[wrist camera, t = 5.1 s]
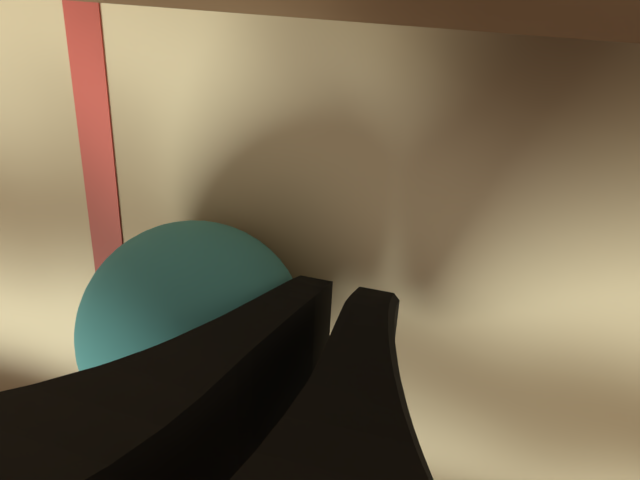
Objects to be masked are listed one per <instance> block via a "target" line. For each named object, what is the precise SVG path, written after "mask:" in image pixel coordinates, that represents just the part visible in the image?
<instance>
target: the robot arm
mask: <svg viewBox="0 0 640 480" xmlns="http://www.w3.org/2000/svg"><path fill="white" fill-rule="evenodd" d="M332 287H333V281H328V280H323V279H317V278H312V277H307V276H302V275H300V276H298V277H295V278H293V279H291V280H289V281H287V282H285V283H283V284H281V285H279V286H277V287H275V288H274V289H272V290H270V291H268V292H266V293H264V294H262V295H261V296H259V297H257V298H255V299H253V300H251V301H249V302H247V303H245V304H243V305H242V306H240V307H238V308H236V309H234V310H232V311H230V312H228V313H226V314H224V315H222V316H220V317H218V318H216V319H214V320H212V321H209V322H207V323H205V324H203V325H201V326H199V327H196V328H194V329H192V330H190V331H188V332H186V333H183V334H181V335H179V336H177V337H175V338H173V339H170V340H168V341H165V342H163V343H161V344H158V345H155V346H153V347H150V348H148V349H145V350H143V351H140V352H137V353H134V354H131V355H129V356H126V357H123V358H120V359H117V360H114V361H112V362H109V363H105V364H102V365H99V366H96V367H92V368H89V369H85V370H82V371H78V372H74V373H71V374H67V375H64V376H60V377H57V378H53V379H50V380H46V381H42V382H39V383H35V384H31V385H27V386H23V387H18V388H14V389H9V390H5V391H0V480H434V479H433V477H432V475H431V472H430V470H429V467H428V464H427V462H426V459H425V457H424V454H423V452H422V449H421V447H420V444H419V441H418V438H417V435H416V432H415V429H414V426H413V423H412V420H411V417H410V413H409V410H408V406H407V402H406V398H405V394H404V390H403V386H402V382H401V377H400V372H399V366H398V359H397V352H396V345H395V335H396V327H397V319H398V310H399V302H400V300H399V299H398V297H397V296H396V295H395V293H391V292H386V291H381V290H376V289H370V288H365V287H358V288H357V289H356V290H355V291H354V292H353V293H352V294H351V295H350V296H349V297H348V299H347V300H346V301H345V303H344V305H343V307H342V309H341V311H340V314H339V316H338V318H337V320H336V322H335V325H334V327H333V329H332V332H331V334H330V320H331V304H332Z"/></svg>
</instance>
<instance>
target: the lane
mask: <svg viewBox="0 0 640 480" xmlns="http://www.w3.org/2000/svg"><path fill="white" fill-rule="evenodd" d="M188 220H197V221H210V222H216V223H221V224H224V225H228V226H231V227H234V228H237V229H239V230H241V231H244V232H246V233H248V234H249V235H251V236H253V237H254V238H256V239H258V240H259V241H261V242H262V243H263V244H264V245H266V246H267V247H268V248H269V249H271V251H272V252H273V253H274V254H275V255H276V256H277V257H278V258H279V259H280V260H281V261H282V263H283V264H284V265H285V267H286V268H287V269H288V271H289V273H290V274H291V276H292V278H295V277H298V276H300V275H302V276H307V277H312V278H317V279H323V280H328V281H333V287H332V304H331V320H330V334H331V332H332V329H333V327H334V325H335V322H336V320H337V318H338V316H339V314H340V311H341V309H342V307H343V305H344V303H345V301H346V300H347V299H348V297H349V296H350V295H351V294H352V293H353V292H354V291H355V290H356V289H357V288H358V287H365V288H370V289H376V290H381V291H386V292H391V293H395V295H396V296H397V297H398V299H399V300H400V302H399V310H398V319H397V327H396V335H395V345H396V352H397V359H398V366H399V372H400V377H401V382H402V386H403V390H404V394H405V398H406V402H407V406H408V410H409V413H410V417H411V420H412V423H413V426H414V429H415V432H416V435H417V438H418V441H419V444H420V447H421V449H422V452H423V454H424V457H425V459H426V462H427V464H428V467H429V470H430V472H431V475H432V477H433V479H434V480H640V0H0V391H5V390H9V389H14V388H18V387H23V386H27V385H31V384H35V383H39V382H42V381H46V380H50V379H53V378H57V377H60V376H64V375H67V374H71V373H74V372H78V371H79V370H78V366H77V363H76V357H75V348H74V329H75V321H76V315H77V311H78V307H79V304H80V302H81V299H82V296H83V294H84V291H85V289H86V287H87V285H88V284H89V282H90V280H91V278H92V277H93V275H94V273H95V272H96V271H97V269H98V268H99V267H100V266H101V264H102V263H103V262H104V261H105V260H106V258H107V257H109V256H110V255H111V254H112V253H113V252H114V251H115V250H116V249H117V248H118V247H120V246H121V245H122V244H124V243H125V242H127V241H128V240H129V239H131V238H133V237H135V236H137V235H138V234H140V233H142V232H144V231H146V230H149V229H151V228H154V227H157V226H159V225H163V224H168V223H172V222H178V221H188Z"/></svg>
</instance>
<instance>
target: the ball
mask: <svg viewBox="0 0 640 480" xmlns="http://www.w3.org/2000/svg"><path fill="white" fill-rule="evenodd" d="M291 279H293V278H292V276H291V274H290V273H289V271H288V269H287V268H286V267H285V265H284V264H283V263H282V261H281V260H280V259H279V258H278V257H277V256H276V255H275V254H274V253H273V252H272V251H271V249H269V248H268V247H267V246H266V245H264V244H263V243H262V242H261V241H259V240H258V239H256V238H254V237H253V236H251V235H249V234H248V233H246V232H244V231H241V230H239V229H237V228H234V227H231V226H228V225H224V224H221V223H216V222H210V221H197V220H188V221H178V222H172V223H168V224H163V225H159V226H157V227H154V228H151V229H149V230H146V231H144V232H142V233H140V234H138V235H137V236H135V237H133V238H131V239H129V240H128V241H127V242H125V243H124V244H122V245H121V246H120V247H118V248H117V249H116V250H115V251H114V252H113V253H112V254H111V255H110V256H109V257H107V258H106V260H105V261H104V262H103V263H102V264H101V266H100V267H99V268H98V269H97V271H96V272H95V273H94V275H93V277H92V278H91V280H90V282H89V284H88V285H87V287H86V289H85V291H84V294H83V296H82V299H81V302H80V304H79V307H78V311H77V315H76V321H75V329H74V348H75V357H76V363H77V366H78V370H79V371H82V370H85V369H89V368H92V367H96V366H99V365H102V364H105V363H109V362H112V361H114V360H117V359H120V358H123V357H126V356H129V355H131V354H134V353H137V352H140V351H143V350H145V349H148V348H150V347H153V346H155V345H158V344H161V343H163V342H165V341H168V340H170V339H173V338H175V337H177V336H179V335H181V334H183V333H186V332H188V331H190V330H192V329H194V328H196V327H199V326H201V325H203V324H205V323H207V322H209V321H212V320H214V319H216V318H218V317H220V316H222V315H224V314H226V313H228V312H230V311H232V310H234V309H236V308H238V307H240V306H242V305H243V304H245V303H247V302H249V301H251V300H253V299H255V298H257V297H259V296H261V295H262V294H264V293H266V292H268V291H270V290H272V289H274V288H275V287H277V286H279V285H281V284H283V283H285V282H287V281H289V280H291Z"/></svg>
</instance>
